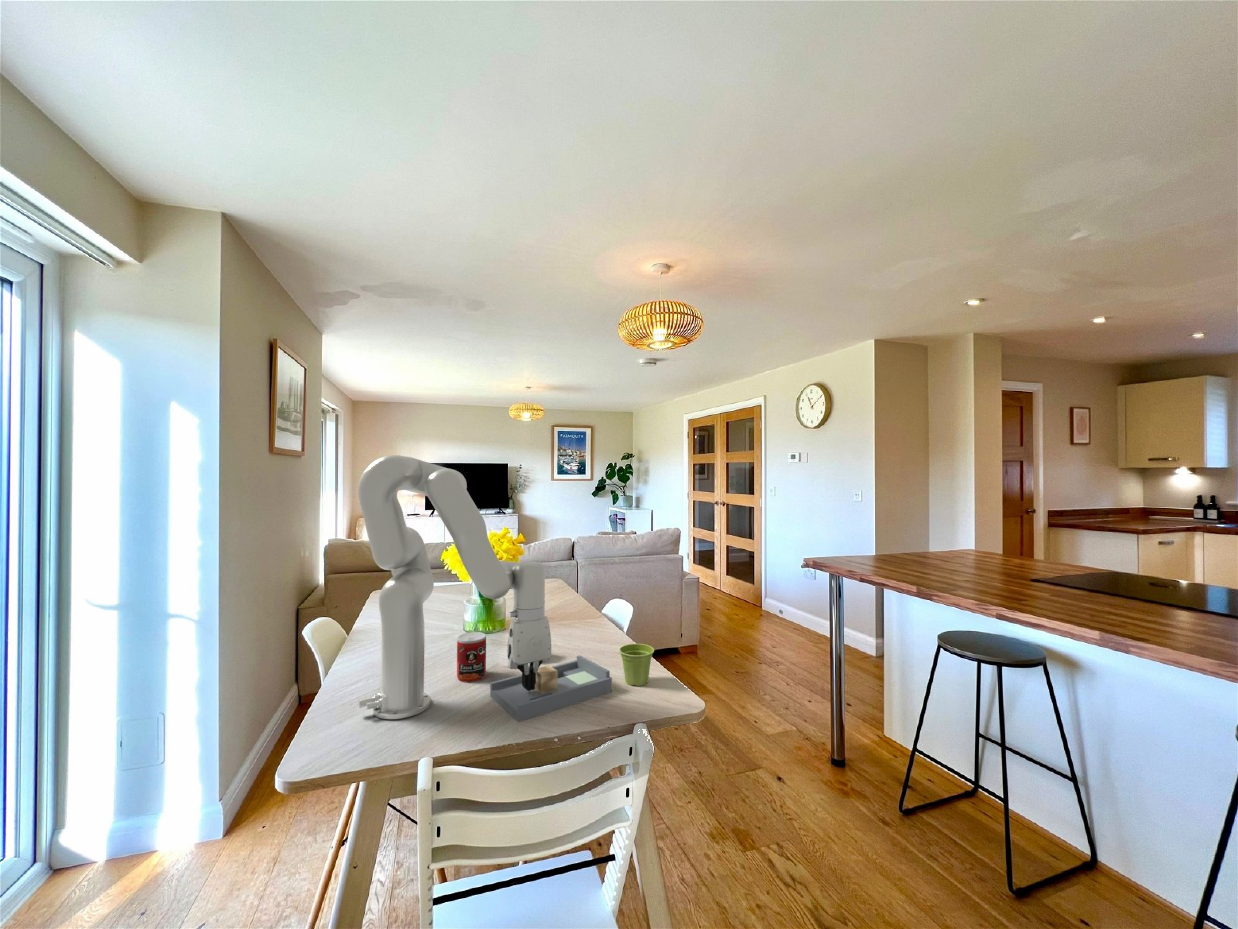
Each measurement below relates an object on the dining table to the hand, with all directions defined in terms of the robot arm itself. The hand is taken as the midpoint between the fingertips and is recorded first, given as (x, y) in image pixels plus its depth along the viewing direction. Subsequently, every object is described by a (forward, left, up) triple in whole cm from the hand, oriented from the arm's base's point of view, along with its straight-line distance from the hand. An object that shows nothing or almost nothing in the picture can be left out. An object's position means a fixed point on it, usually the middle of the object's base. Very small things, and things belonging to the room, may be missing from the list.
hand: (528, 688), depth 123 cm
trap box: (+6, 0, -3) cm, 7 cm away
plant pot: (+28, -7, -3) cm, 29 cm away
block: (+5, 0, -1) cm, 5 cm away
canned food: (-6, +23, -3) cm, 24 cm away
